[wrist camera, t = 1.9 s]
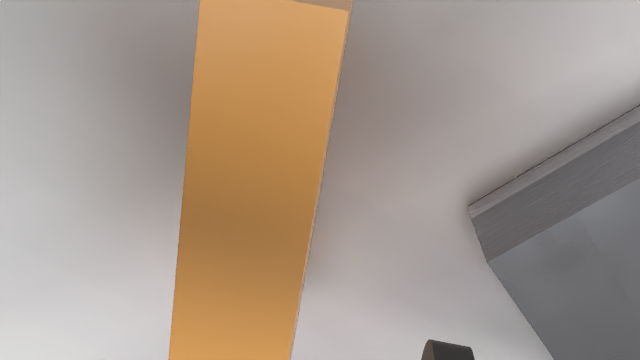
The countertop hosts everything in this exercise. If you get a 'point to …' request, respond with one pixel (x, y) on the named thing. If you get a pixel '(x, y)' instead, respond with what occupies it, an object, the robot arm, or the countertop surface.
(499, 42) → the countertop surface
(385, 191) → the countertop surface
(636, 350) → the metal panel
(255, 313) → the orange arch block
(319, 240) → the countertop surface
